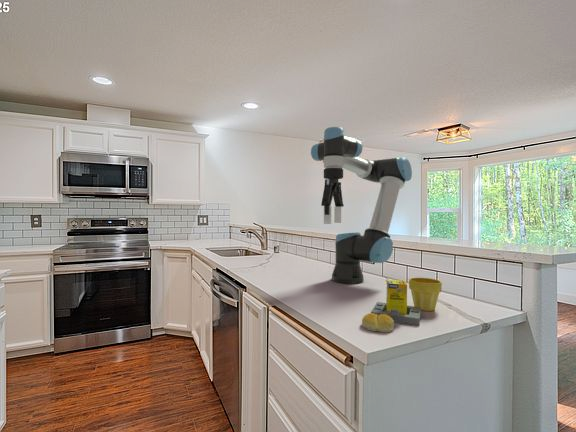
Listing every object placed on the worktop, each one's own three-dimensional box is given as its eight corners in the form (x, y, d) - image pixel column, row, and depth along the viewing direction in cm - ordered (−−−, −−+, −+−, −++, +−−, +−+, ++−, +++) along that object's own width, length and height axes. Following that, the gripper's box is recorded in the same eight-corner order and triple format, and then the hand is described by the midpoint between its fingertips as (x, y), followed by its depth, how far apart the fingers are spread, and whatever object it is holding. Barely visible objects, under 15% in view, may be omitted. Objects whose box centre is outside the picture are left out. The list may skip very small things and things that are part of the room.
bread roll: (364, 321, 96) (364, 308, 96) (395, 325, 93) (395, 312, 93) (359, 330, 89) (359, 316, 89) (392, 335, 85) (392, 320, 85)
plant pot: (428, 303, 115) (428, 276, 115) (448, 311, 105) (448, 282, 105) (402, 304, 113) (403, 277, 113) (420, 313, 103) (421, 284, 103)
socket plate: (377, 307, 109) (377, 301, 109) (420, 313, 103) (420, 306, 103) (370, 318, 98) (370, 311, 98) (419, 325, 92) (419, 317, 92)
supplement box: (407, 319, 97) (407, 284, 97) (387, 317, 99) (387, 283, 99) (405, 313, 103) (405, 280, 103) (386, 312, 105) (386, 279, 104)
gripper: (333, 172, 134) (332, 222, 135) (313, 164, 112) (312, 224, 112) (350, 171, 131) (350, 222, 131) (333, 163, 109) (332, 224, 109)
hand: (332, 223), depth 122 cm, fingers open, 13 cm apart
